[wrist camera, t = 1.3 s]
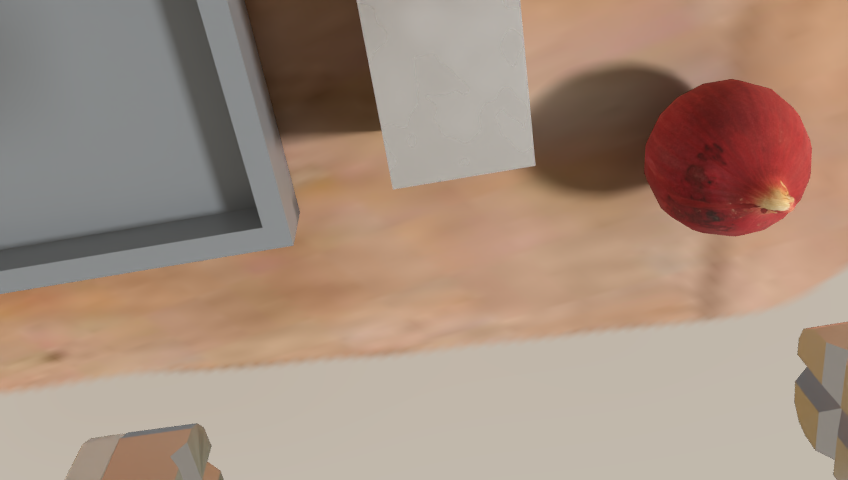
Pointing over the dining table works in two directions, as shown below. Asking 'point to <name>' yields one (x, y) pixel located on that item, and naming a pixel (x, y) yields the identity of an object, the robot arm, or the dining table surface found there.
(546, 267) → the dining table surface
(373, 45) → the block
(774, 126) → the onion
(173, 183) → the tray
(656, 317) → the dining table surface
